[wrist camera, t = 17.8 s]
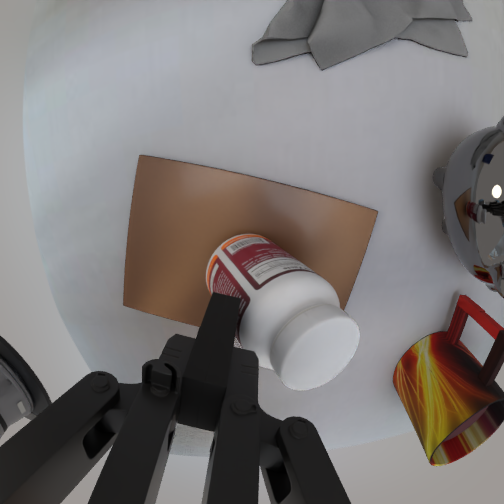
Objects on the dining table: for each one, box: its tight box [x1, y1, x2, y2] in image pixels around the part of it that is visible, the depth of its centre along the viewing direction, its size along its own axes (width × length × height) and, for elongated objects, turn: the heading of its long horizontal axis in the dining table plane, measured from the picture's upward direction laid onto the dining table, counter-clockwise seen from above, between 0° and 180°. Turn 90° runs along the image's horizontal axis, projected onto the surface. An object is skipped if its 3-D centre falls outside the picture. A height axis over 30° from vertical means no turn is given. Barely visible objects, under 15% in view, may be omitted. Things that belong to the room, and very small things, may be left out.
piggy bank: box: [433, 116, 504, 298], centre depth 16 cm, size 11×15×12 cm
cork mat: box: [123, 155, 378, 327], centre depth 24 cm, size 20×14×1 cm
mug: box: [393, 295, 504, 466], centre depth 21 cm, size 10×14×12 cm
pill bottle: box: [206, 234, 360, 391], centre depth 18 cm, size 6×6×11 cm
